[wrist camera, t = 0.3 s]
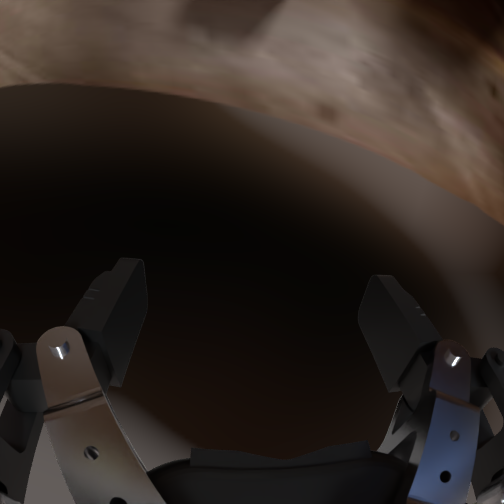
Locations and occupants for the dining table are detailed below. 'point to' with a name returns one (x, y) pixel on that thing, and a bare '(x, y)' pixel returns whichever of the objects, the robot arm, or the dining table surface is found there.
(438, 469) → the robot arm
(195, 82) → the dining table surface
